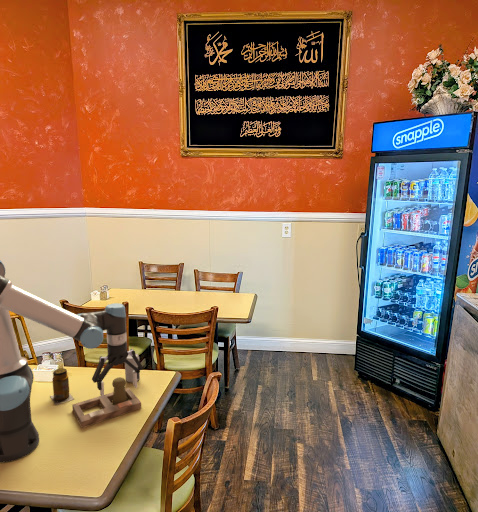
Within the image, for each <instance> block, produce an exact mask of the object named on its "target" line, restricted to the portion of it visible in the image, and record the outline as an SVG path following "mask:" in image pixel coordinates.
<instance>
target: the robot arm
mask: <svg viewBox="0 0 478 512" xmlns="http://www.w3.org/2000/svg"><path fill="white" fill-rule="evenodd" d="M5 267H6V266H5V264H4V263H3V261H1V260H0V463H10V462H13V461H17V460H20V459H22V458H24V457H27V456H28V455H30V454H31V453H32V452H33V451H34V450H35V449H37V447H38V446H39V444H40V434H39V431H38V430H37V428H36V426H35V424H34V422H33V419H32V411H31V395H32V394H31V393H32V388H33V382H34V373H33V370H32V368H31V367H30V365H29V363H28V360H27V358H26V357H24V356H21V351H20V347H19V344H18V341H17V337H16V333H15V330H14V325H13V322H12V318H11V314H10V312H11V313H14V314H17V315H19V316H21V317H23V318H26V319H28V320H30V321H33V322H34V323H37V324H39V325H41V326H44V327H46V328H48V329H50V330H53V331H55V332H58V333H60V334H63V335H65V336H66V337H67V336H68V337H69V338H71V339H74V340H76V341H78V342H80V344H81V345H82V346H83V347H84V348H86V349H91V350H93V349H97V348H98V347H99V346H101V344H102V343H103V341H104V331H106V343H107V344H106V346H107V347H106V348H107V349H106V350H107V355H106V356H102V355H101V356H99V361H98V364H97V366H96V368H95V371H94V374H93V375H92V378H91V380H92V382H93V383H96V385H97V386H96V387H97V389H98V390H99V394H100V395H99V396H101V397H102V398H104V395H105V387H104V385H105V383H104V381H103V380H104V379H105V377H106V376H107V375H108V373H109V371H111V369H112V368H113V367H114V366H115V367H117V366H118V365H123V364H125V363H126V364H128V365H129V366H130V367H131V368H132V369H134V370H135V371H133V383H132V385H133V387H134V388H135V389H137V388H138V381H137V379H139V373H140V374H141V371H143V370H144V366H143V364H142V363H141V361H140V359H139V360H138V358H137V357H136V355H135V353H136V351H135V350H134V349H133V348H131V349H130V350H128V343H127V340H128V338H127V314H126V307H125V305H124V304H122V303H119V302H118V303H117V302H115V303H110V304H107V305H106V306H105V309H104V310H102V311H90V312H82V313H77V314H76V313H74V312H72V311H69V310H68V309H65V308H63V307H61V306H58V305H57V304H55V303H52V302H50V301H48V300H45V299H44V298H41V297H40V296H37V295H35V294H33V293H31V292H28V291H26V290H25V289H22V288H20V287H18V286H15V285H13V283H12V280H11V279H9V278H6V268H5ZM128 355H130V356H132V358H133V359H134V361H135V362H136V364H137V365H138V367H135V366H134V365H133V364H132V363H131V362H129V361H128V360H127V359H126V358H127V357H128ZM105 363H106V365H105ZM104 366H105V367H104ZM103 367H104V368H103ZM139 380H140V379H139Z"/></svg>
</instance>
